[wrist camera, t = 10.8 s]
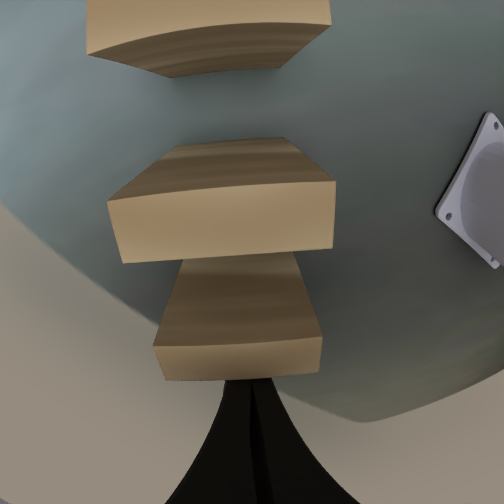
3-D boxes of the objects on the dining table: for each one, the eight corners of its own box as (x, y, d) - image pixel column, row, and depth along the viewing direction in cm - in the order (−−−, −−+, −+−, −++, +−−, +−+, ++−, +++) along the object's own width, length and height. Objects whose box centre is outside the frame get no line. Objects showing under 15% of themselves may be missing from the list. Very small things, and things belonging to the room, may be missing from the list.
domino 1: (279, 67, 11) (331, 25, 4) (170, 77, 11) (86, 54, 4) (277, 37, 10) (323, -36, 3) (168, 47, 10) (87, -5, 3)
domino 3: (286, 261, 16) (318, 372, 9) (195, 267, 16) (165, 380, 9) (285, 233, 15) (322, 336, 8) (190, 240, 15) (152, 346, 8)
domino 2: (284, 169, 14) (332, 248, 7) (181, 178, 14) (122, 263, 7) (283, 137, 13) (336, 181, 6) (177, 146, 13) (106, 201, 6)
